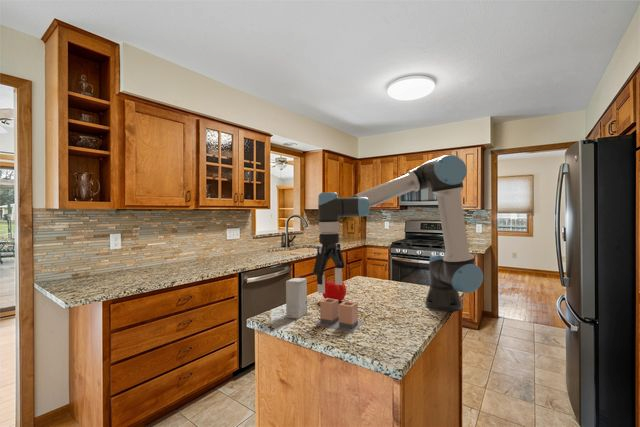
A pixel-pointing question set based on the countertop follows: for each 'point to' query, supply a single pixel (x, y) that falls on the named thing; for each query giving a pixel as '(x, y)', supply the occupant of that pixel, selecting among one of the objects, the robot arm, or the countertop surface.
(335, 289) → the tomato
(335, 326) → the pin board
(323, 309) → the sleeve free
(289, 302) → the skincare box
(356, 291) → the countertop surface
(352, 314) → the sleeve seated
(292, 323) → the countertop surface
